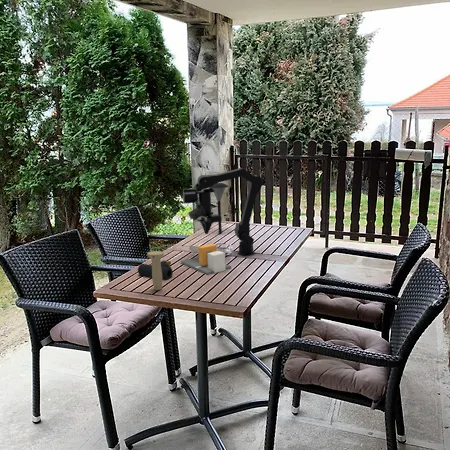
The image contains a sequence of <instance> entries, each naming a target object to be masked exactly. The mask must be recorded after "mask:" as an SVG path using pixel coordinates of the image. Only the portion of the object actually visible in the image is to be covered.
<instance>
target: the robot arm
mask: <svg viewBox="0 0 450 450" xmlns="http://www.w3.org/2000/svg"><path fill="white" fill-rule="evenodd" d="M238 178H241V179H243V180H245V181H247V194H246V195H247V196H246V199H245V202H244V207H243V211H242V215H241V218H240V221H239V222H235V227H234V230H233V231H234V235H235V237H237V238H238V240H239V242H238V243H239V245H238V252H237V254H238V255H241V256H243V257H248V256H250V255H255V254H256V252H254V242H255V239H254V238H253V237H252V236H251V235H250V234H251V233H250V232H251V231H250V230H251V228H250V227H251V226H250V222H251V218H252V216H253V215H252V214H253V210H254V208H255V207H254V206H255V204H256V200H257V196H258V194H259V193H260V191H261V190H262V187H263V184H264V179H263V178H262V177H261V176H260V175H256V174H252V173H250V171H248V170H246V169H245V168H242V167H239V168H236V169H232V170H227V171H224V172H220V173H217V174H202V175H200V176H198V177H197V179H196V183H195V185H194V186H193V188H183V189H182V191H183V192H182V201H183V204H195V203H197V201H198V203H197V204H196V207H195V208H193V209H192V210H191V211H189V212H188V216H189V218H190V219H191V220H193V221H198V222H199V223H200V224H201V226H202V228H203V231H204V234H205V235H208V234H209V232H210V230H211V227H212V225H213V223H218V222H219V221H221V222H222V221H223V220H222V219H223V217H222V215H221V216H220V215H218V213H217V214H214V212H213V211H212V207H213V206H214V203H212V199H211V198H212V195H211V194H212V193H214V192H215V191H214V190H213V189H212V188H211V186H213V185H215V184H217V183H223V182H226V181H230V180H233V179H238ZM209 187H210V188H209Z"/></svg>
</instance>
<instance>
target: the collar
mask: <svg viewBox="0 0 450 450" xmlns="http://www.w3.org/2000/svg"><path fill="white" fill-rule="evenodd" d="M197 248H198V253H197V254H198V257H199V264H201V265H206V264H208V257H207V252H209V253H211V252H215V251H218V250H217V249H218V248H217V244H215V243H210V244H209V243H208V244H205V245H200V246H198V247H197Z"/></svg>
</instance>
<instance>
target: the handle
mask: <svg viewBox="0 0 450 450" xmlns="http://www.w3.org/2000/svg"><path fill="white" fill-rule="evenodd" d="M146 255H147V258H150V259H151V265H152V277H151V278H152V284H153V290H156V291H161V290H162V289H163V279H162V270H161V258H163V257H164V255H165V253H164V251H160V250H159V251H157V250H155V251H154V250H153V251H147V254H146Z"/></svg>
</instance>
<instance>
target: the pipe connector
mask: <svg viewBox="0 0 450 450" xmlns="http://www.w3.org/2000/svg"><path fill="white" fill-rule="evenodd" d="M160 262H161V270H162V280H163V279H164V280H169V279H172V278H173V275H174V274H173V269H172V267H171V265H172V263H171V260H168V261H167V260H164V259H163V260H160ZM137 274H138V275H139V276H144V277H150V278H152V264H148V263H141V264H138V268H137Z"/></svg>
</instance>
